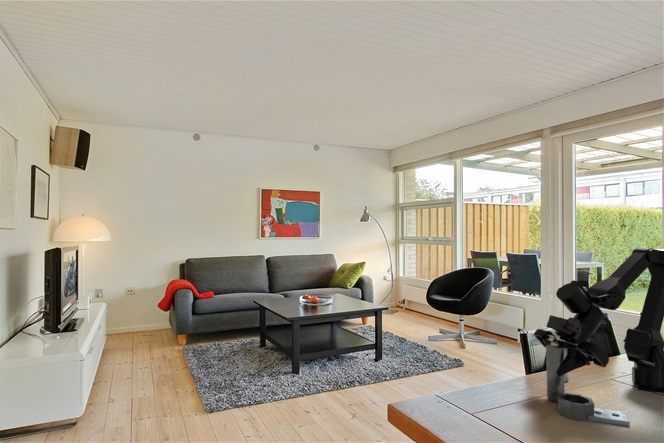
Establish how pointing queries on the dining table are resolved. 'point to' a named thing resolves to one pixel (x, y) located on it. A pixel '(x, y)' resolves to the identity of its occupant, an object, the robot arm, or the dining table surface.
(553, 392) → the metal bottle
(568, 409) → the hinge leaf
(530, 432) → the dining table surface
